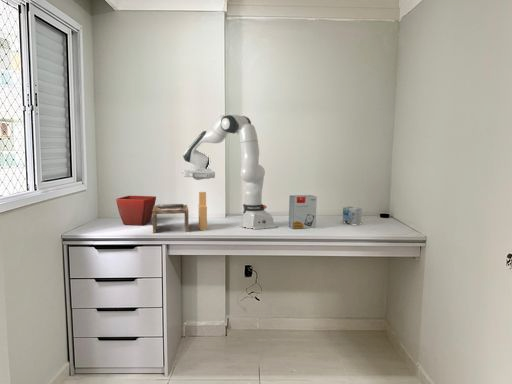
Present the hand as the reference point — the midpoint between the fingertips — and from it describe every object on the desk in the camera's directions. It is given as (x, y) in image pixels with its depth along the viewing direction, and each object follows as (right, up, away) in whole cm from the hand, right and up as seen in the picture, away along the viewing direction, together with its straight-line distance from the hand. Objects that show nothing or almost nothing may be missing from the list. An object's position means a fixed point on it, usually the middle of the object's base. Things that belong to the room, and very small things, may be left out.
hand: (200, 175), depth 235 cm
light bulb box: (+98, -31, +12) cm, 104 cm away
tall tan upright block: (+2, -32, -7) cm, 33 cm away
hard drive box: (+64, -33, -2) cm, 72 cm away
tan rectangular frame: (-16, -33, -11) cm, 38 cm away
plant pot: (-41, -31, +4) cm, 52 cm away
